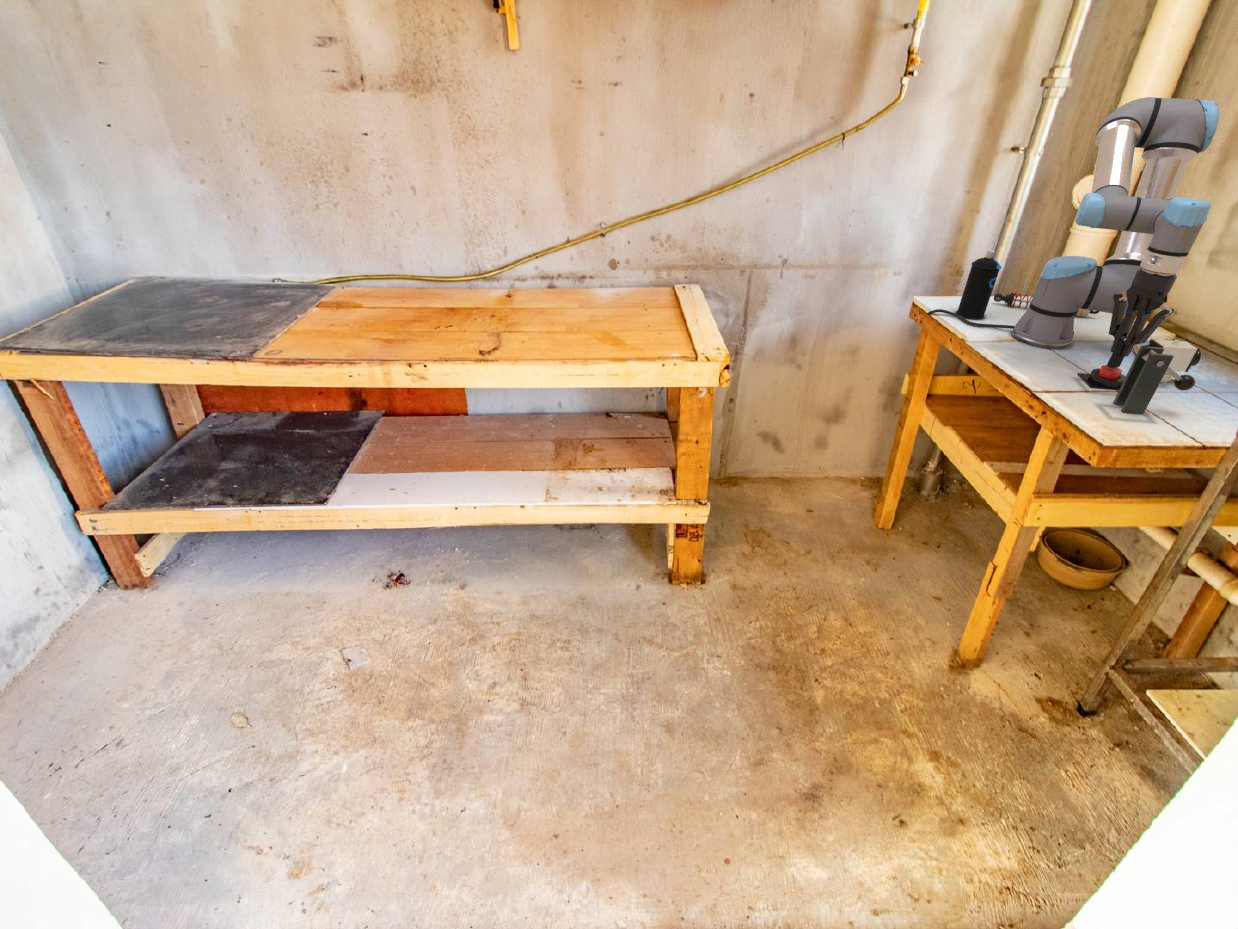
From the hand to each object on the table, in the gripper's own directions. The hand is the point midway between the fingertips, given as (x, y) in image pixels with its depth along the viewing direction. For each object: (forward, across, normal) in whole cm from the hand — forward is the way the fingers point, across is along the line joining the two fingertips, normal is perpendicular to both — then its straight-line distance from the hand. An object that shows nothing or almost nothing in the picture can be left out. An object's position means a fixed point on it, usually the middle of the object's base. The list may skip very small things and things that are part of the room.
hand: (1112, 366), depth 161 cm
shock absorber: (+6, -46, +35) cm, 58 cm away
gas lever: (-4, +13, -5) cm, 15 cm away
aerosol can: (+6, -51, +9) cm, 52 cm away
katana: (+6, -18, +37) cm, 41 cm away
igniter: (+3, 0, 0) cm, 3 cm away
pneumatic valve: (+6, +3, +15) cm, 16 cm away
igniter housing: (+6, 0, 0) cm, 6 cm away
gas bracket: (+6, +11, -8) cm, 15 cm away
